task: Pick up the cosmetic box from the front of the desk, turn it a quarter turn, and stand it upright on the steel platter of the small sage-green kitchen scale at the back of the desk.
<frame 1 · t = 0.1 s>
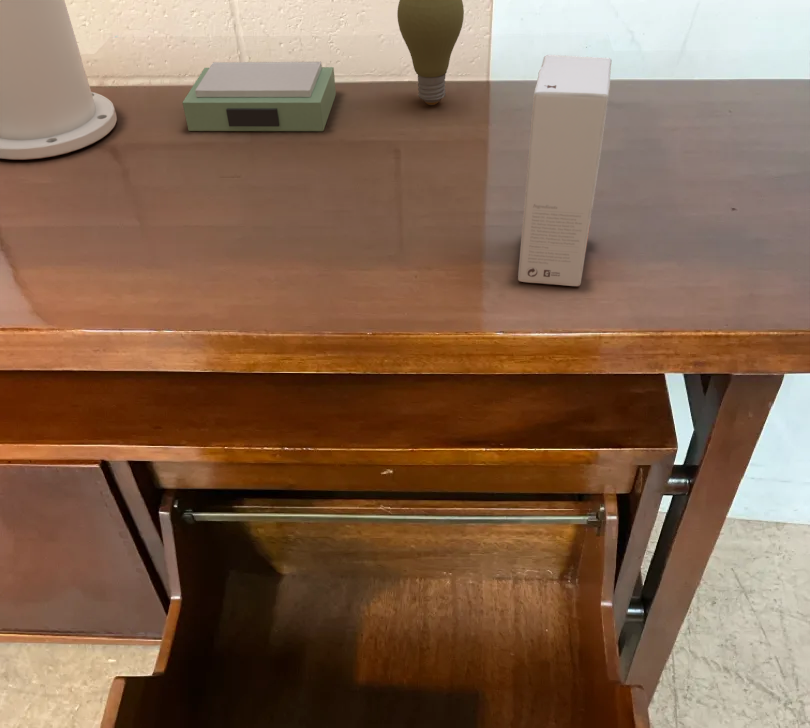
light bulb: (431, 105, 76), on the table
cosmetic box: (552, 265, 57), on the table
scale: (264, 112, 76), on the table
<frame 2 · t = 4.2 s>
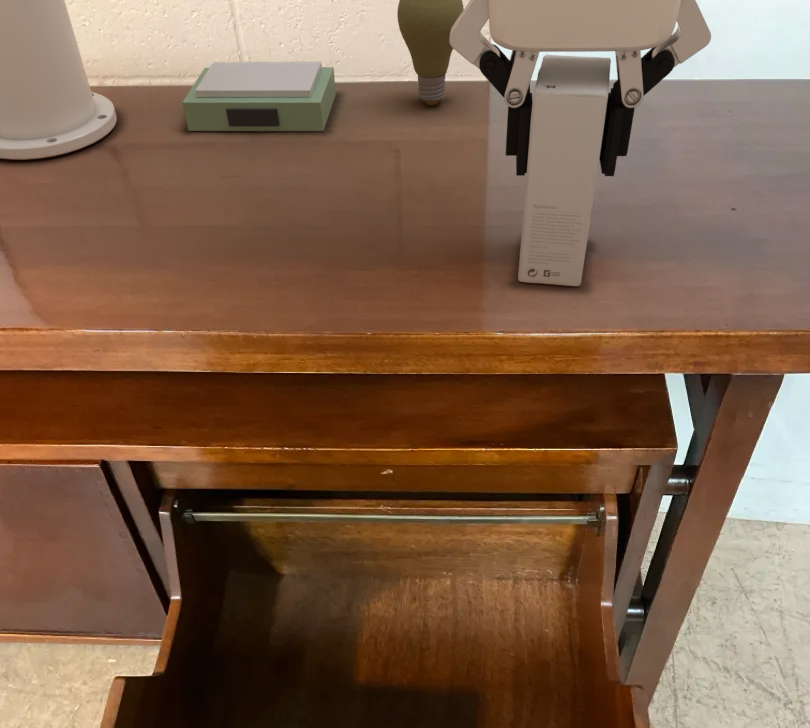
hand: (563, 163, 52), 7 cm above the table, tool pointing down, fingers closed on cosmetic box, 4 cm apart
cosmetic box: (552, 265, 57), on the table, touching gripper
everything else where it was.
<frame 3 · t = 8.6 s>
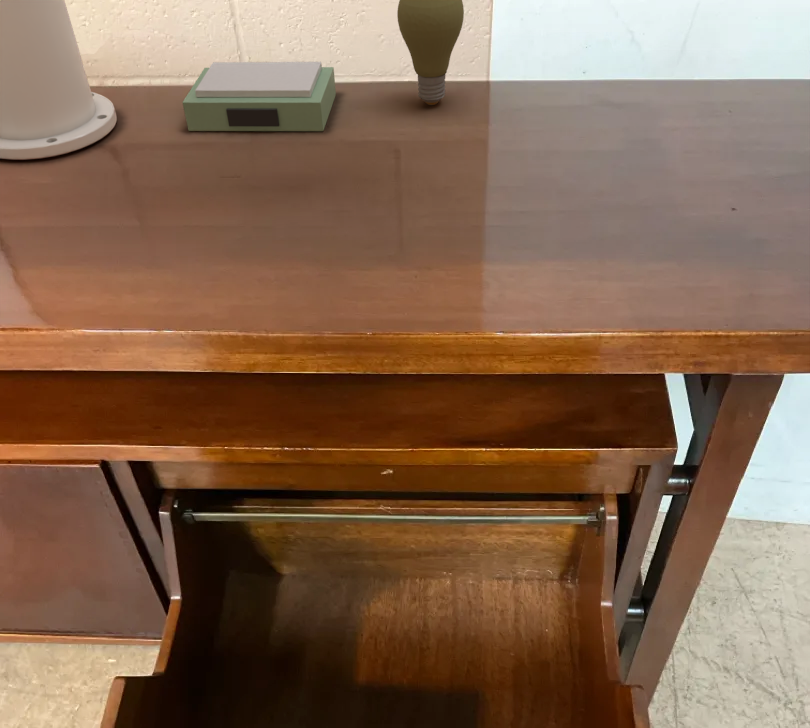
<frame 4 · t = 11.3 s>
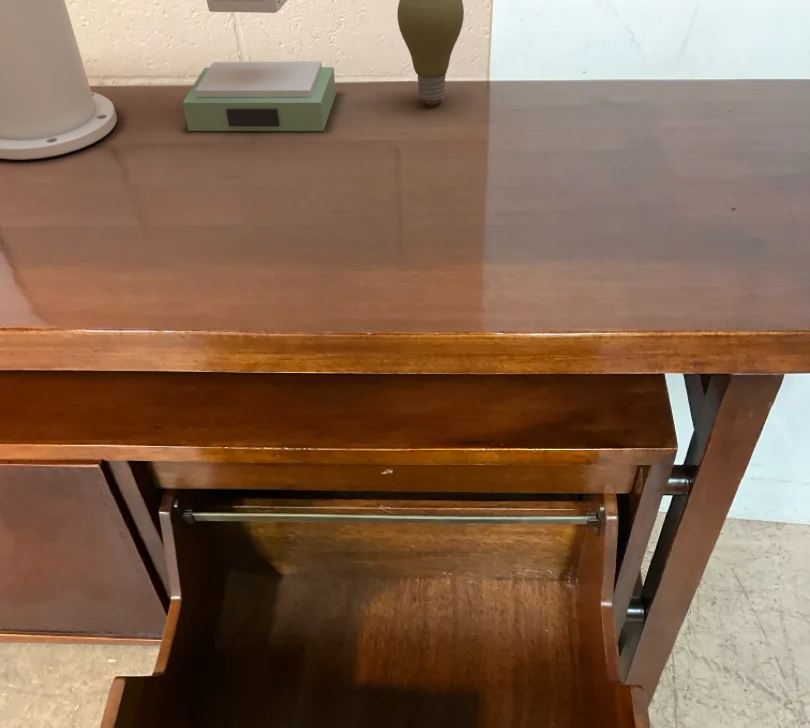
cosmetic box: (250, 8, 70), point 8 cm above the table, touching gripper
everything else where it was.
when the fingers open (10 cm above the table, at t = 13.0 s): cosmetic box stays where it is, resting on scale.
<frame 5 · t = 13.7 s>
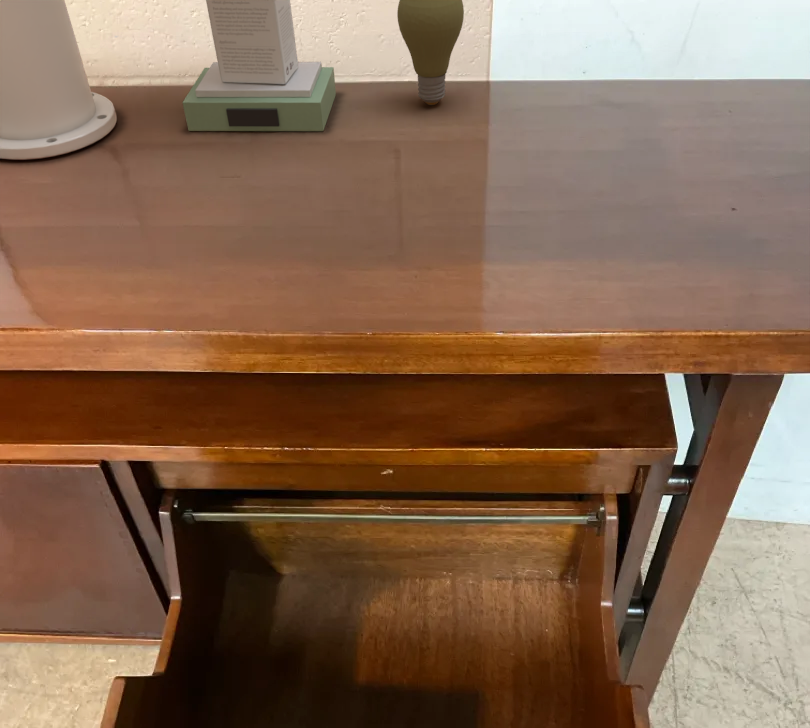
cosmetic box: (260, 77, 74), point 3 cm above the table, touching scale
everything else where it was.
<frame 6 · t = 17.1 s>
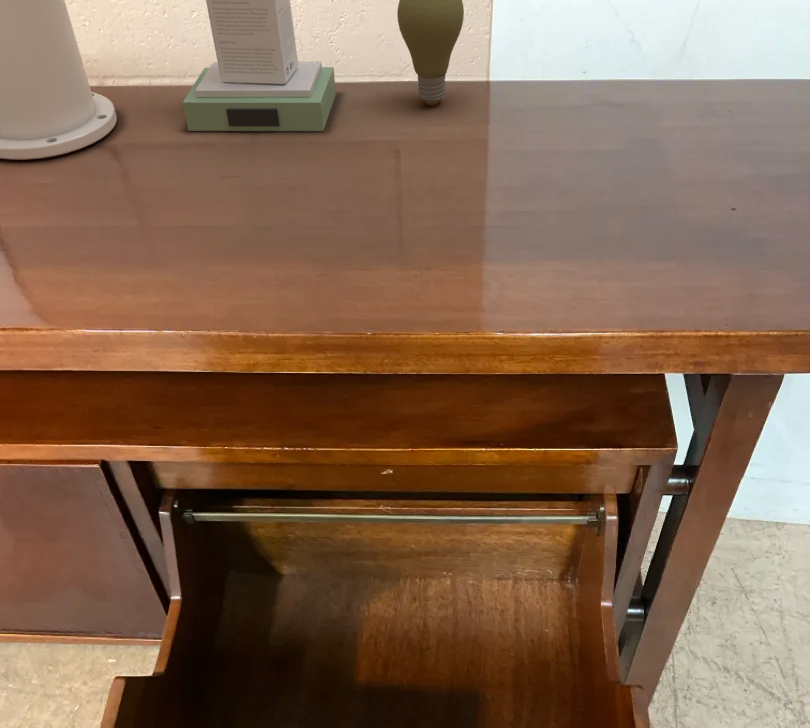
nothing on the table moved.
at the end: cosmetic box inside the target area on the scale (0.0 cm from its centre), point 2.8 cm above the scale's base; cosmetic box tilted 0° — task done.
